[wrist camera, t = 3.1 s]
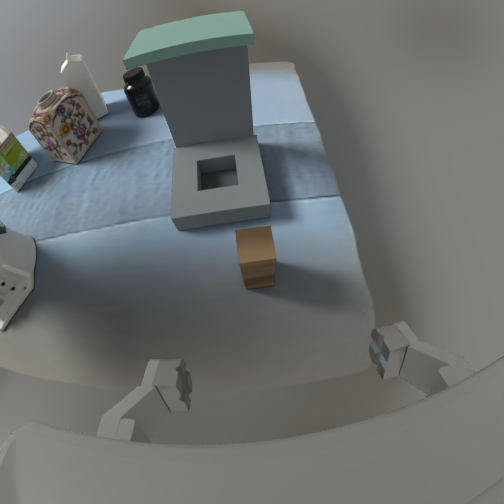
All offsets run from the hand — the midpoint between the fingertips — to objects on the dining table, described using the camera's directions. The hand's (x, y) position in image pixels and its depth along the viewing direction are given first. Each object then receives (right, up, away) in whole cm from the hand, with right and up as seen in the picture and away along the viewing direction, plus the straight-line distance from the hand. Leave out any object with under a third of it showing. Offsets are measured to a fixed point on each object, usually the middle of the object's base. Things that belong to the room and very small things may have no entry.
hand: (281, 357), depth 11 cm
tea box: (-68, +28, +44) cm, 86 cm away
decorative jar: (-45, +31, +45) cm, 71 cm away
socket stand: (-7, +16, +36) cm, 40 cm away
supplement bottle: (-27, +39, +47) cm, 67 cm away
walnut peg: (0, +1, +30) cm, 30 cm away
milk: (-44, +42, +49) cm, 78 cm away
